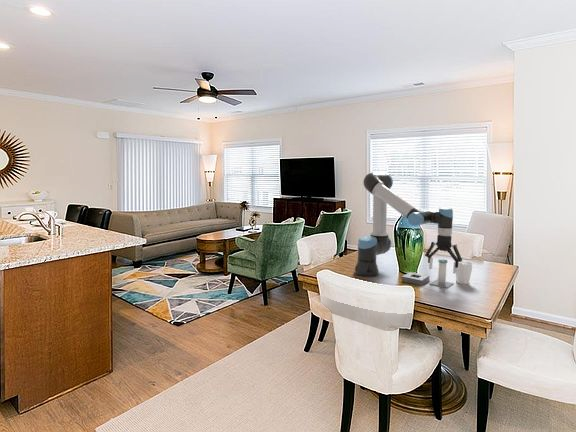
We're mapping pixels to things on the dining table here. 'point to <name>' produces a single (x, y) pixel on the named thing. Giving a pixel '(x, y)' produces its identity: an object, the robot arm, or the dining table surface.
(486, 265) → the dining table surface
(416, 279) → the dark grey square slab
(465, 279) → the cup
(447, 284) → the coaster
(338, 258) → the dining table surface
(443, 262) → the plug
